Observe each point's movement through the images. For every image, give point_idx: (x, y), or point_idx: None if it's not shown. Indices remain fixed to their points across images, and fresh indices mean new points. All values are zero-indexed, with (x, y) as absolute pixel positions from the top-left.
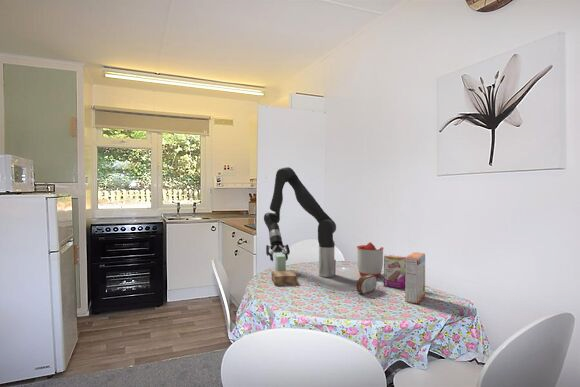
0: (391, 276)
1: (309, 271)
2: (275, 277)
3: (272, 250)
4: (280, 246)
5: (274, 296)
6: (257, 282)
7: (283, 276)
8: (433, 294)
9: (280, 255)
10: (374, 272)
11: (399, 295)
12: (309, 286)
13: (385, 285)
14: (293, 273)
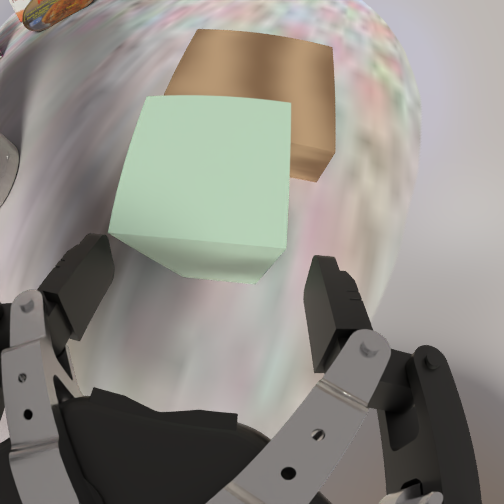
0: None
1: (5, 295)
2: (327, 49)
3: (351, 400)
4: (37, 470)
5: (338, 13)
6: (403, 155)
7: (279, 37)
8: (5, 29)
9: (196, 181)
10: None
11: None
12: (166, 37)
13: (1, 53)
14: (191, 58)
